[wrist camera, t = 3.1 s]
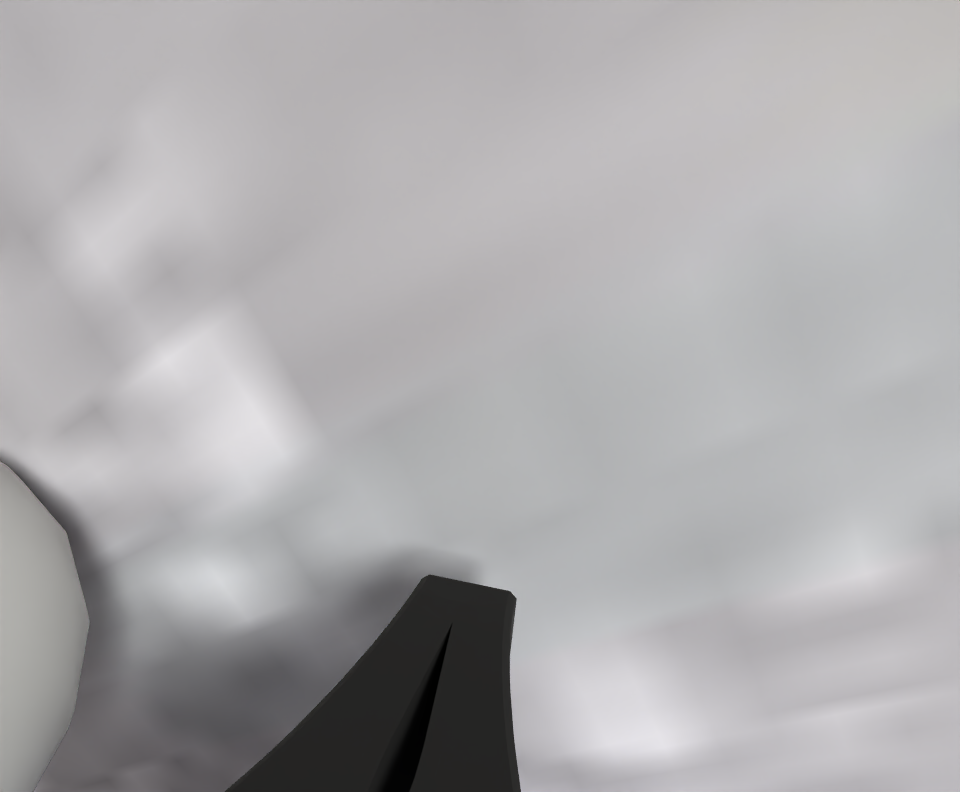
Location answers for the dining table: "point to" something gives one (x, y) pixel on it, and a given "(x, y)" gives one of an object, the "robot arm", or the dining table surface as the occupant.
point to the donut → (35, 635)
